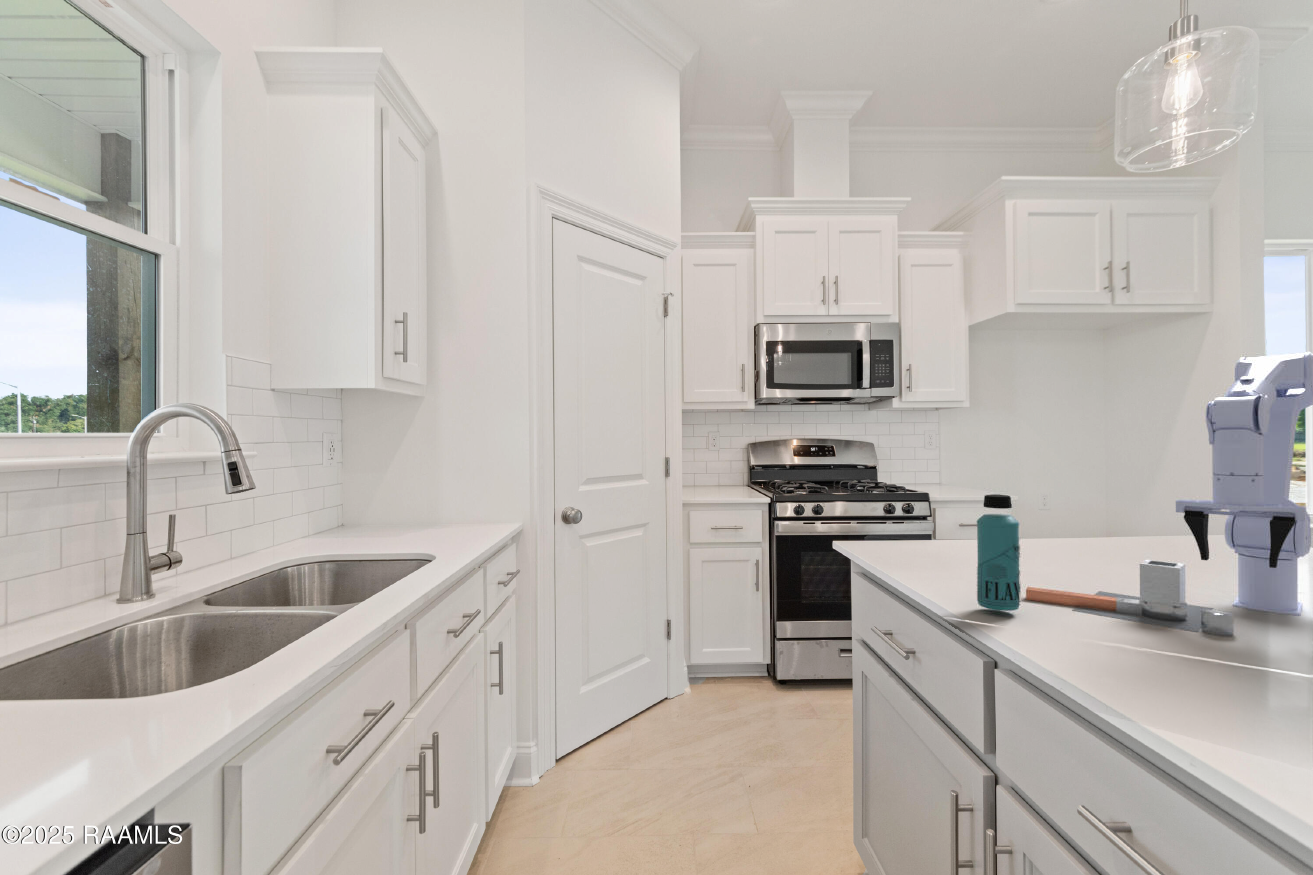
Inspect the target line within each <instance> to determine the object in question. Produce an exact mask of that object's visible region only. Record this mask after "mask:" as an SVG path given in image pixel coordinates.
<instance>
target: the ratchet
mask: <svg viewBox="0 0 1313 875" xmlns="http://www.w3.org/2000/svg"><path fill="white" fill-rule="evenodd" d="M1138 597H1139V600H1133V599H1125V598H1115V597H1107V596H1099V595H1095V594H1091V593H1089V594H1088V593H1081V592H1075V591H1074V592H1071V591H1066V590H1065V591H1064V590H1058V589H1057V590H1056V589H1048V588H1043V587H1042V588H1041V587H1031V586H1027V588H1026V589H1025V600H1026V601H1032V602H1033V601H1034V602H1042V603H1049V604H1050V603H1051V604H1055V605H1056V604H1057V605H1065V606H1072V607H1077V606H1078V607H1086V608H1093V609H1101V610H1108V611H1115V612H1121V613H1128V614H1136V615H1142V616H1145V617H1148V618H1152V619H1157V620H1163V621H1172V622H1182V621H1186V620H1187V604H1188V603H1187V602H1186V601H1185V602H1184V603H1183V604H1182V605H1181V606H1180V607H1178V606H1172V605H1165V604H1159V603H1152V602H1146V601H1140V596H1138Z"/></svg>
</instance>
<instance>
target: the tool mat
mask: <svg viewBox="0 0 1313 875" xmlns="http://www.w3.org/2000/svg"><path fill="white" fill-rule="evenodd" d="M1094 595H1099V596H1107V597H1115V598H1125V599H1133V600H1139V597H1140V596H1134V595H1129V594H1122V593H1115V592H1110V591H1109V592H1108V591H1101V590H1099V591H1098V592H1096V593H1095V594H1094ZM1202 610H1214V608H1213V607H1207V606H1203V605H1202V606H1201V605H1195V604H1188V603H1187V620H1186V621H1182V622H1172V621H1163V620H1157V619H1152V618H1148V617H1145V616H1142V615H1136V614H1128V613H1121V612H1115V611H1108V610H1101V609H1093V608H1086V607H1078V606H1075V608H1072V609H1071V611H1073V612H1078V613H1084V614H1087V615H1088V614H1090V615H1095V616H1100V617H1106V618H1112V619H1118V620H1124V621H1129V622H1136V623H1141V624H1146V625H1147V624H1148V625H1153V626H1159V627H1165V628H1170V629H1171V628H1172V629H1174V630H1181V631H1186V632H1187V631H1188V632H1192V633H1199V631H1200V630H1201V611H1202Z"/></svg>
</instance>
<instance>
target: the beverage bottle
mask: <svg viewBox="0 0 1313 875" xmlns="http://www.w3.org/2000/svg"><path fill="white" fill-rule="evenodd" d="M1011 498H1012V497H1011V495H1008V494H1007V495H1005V494H998V493H996V494H985V495H984V498H983V507H984V508H987V509H997V510H998V509H1000V510H1003V509H1008V510H1009V509H1013V508H1012V507H1013V506H1012V505H1013V504H1012V499H1011ZM976 526H977V528H976V530H977V534H976V537H977V546H976V547H977V567H976V570H975V571H976V574H975V575H976V601H977V604H978V605H979V606H980V607H982V608H984V609H985V608H986V609H988V610H994V611H1001V612H1002V611H1004V612H1005V611H1006V612H1007V611H1009V612H1011V611H1016V610H1019V608H1020V605H1021V604H1022V603H1021V597H1020V593H1021V583H1020V580H1021V575H1020V573H1021V570H1020V558H1021V544H1020V540H1021V537H1020V534H1019V530H1020V529H1019V527H1020V522H1019V521H1018V520H1017V519H1016V518H1015V517H1014V515H1013V516H1012V515H1010V514H1005V513H1003V514H1002V513H985V514H982V515H981V516H980V517H979V518H978V519H977V520H976Z"/></svg>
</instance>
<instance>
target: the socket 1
mask: <svg viewBox="0 0 1313 875" xmlns="http://www.w3.org/2000/svg"><path fill="white" fill-rule="evenodd" d="M1139 597H1140V601H1146V602H1152V603H1159V604H1165V605H1172V606H1178V607H1180V606H1181V605H1182V604H1183V603H1184V602H1186V563H1183V562H1175V561H1173V562H1172V561H1164V560H1158V559H1157V560H1156V559H1144V560H1143V561H1141V562H1140V563H1139Z"/></svg>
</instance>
